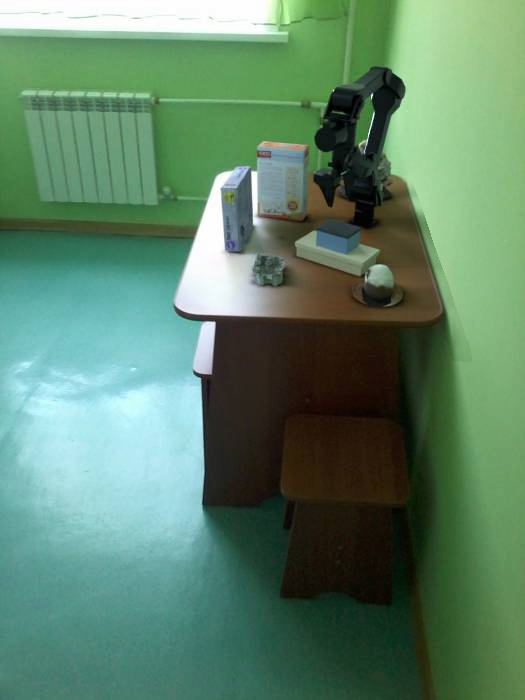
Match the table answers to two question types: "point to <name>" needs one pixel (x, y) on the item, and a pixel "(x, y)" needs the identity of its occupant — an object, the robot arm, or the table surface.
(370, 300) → the egg in cup
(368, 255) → the cream lidded box
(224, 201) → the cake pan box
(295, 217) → the cracker box
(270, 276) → the egg carton
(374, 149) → the robot arm
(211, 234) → the table surface
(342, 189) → the owl figurine
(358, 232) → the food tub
